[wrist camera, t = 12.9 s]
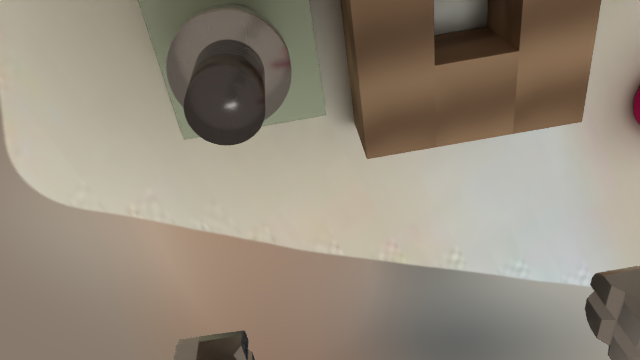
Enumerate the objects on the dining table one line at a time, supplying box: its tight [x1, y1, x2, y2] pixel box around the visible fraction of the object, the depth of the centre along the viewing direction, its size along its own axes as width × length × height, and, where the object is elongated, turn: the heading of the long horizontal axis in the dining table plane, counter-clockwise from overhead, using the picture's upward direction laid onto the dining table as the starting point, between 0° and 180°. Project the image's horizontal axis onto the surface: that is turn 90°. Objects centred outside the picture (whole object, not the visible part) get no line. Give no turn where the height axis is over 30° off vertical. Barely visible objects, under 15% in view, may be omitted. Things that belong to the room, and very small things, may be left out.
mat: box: [138, 0, 326, 140], centre depth 32 cm, size 13×10×1 cm
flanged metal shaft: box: [166, 3, 292, 145], centre depth 27 cm, size 6×6×11 cm
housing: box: [341, 0, 601, 159], centre depth 30 cm, size 16×14×5 cm
